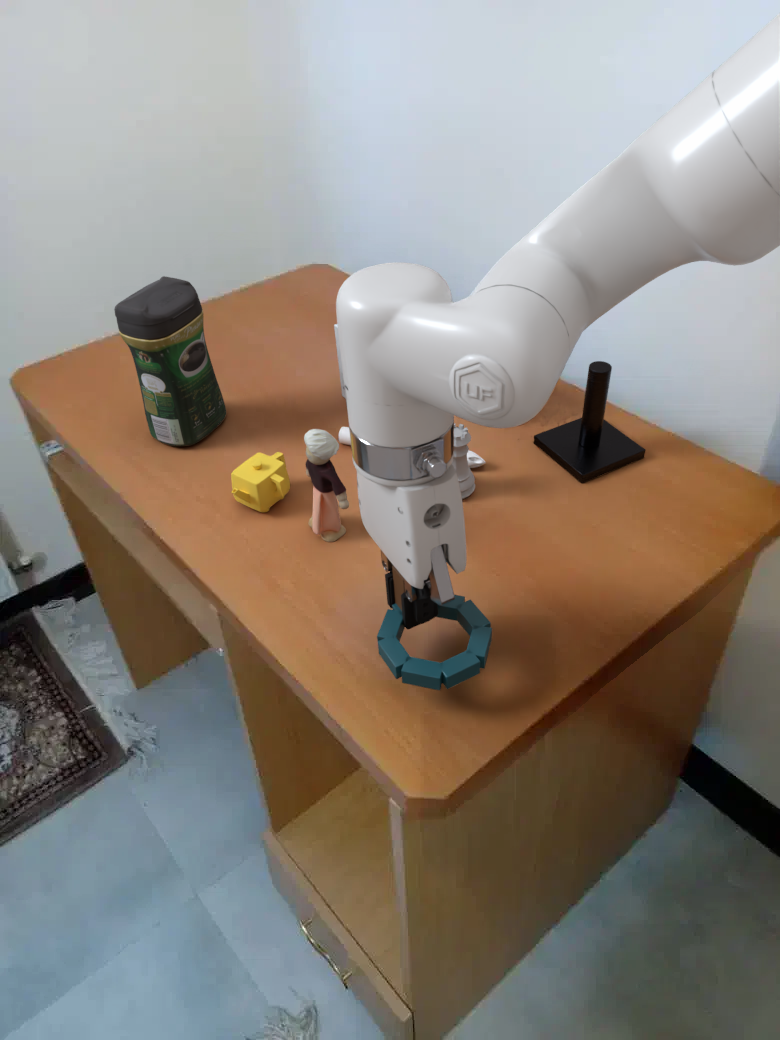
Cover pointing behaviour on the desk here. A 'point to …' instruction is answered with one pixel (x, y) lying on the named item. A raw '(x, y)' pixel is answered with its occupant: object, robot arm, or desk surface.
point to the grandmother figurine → (325, 485)
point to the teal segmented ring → (426, 670)
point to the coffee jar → (172, 361)
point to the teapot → (261, 481)
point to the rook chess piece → (462, 460)
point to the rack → (590, 435)
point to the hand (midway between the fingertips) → (412, 609)
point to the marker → (472, 457)
